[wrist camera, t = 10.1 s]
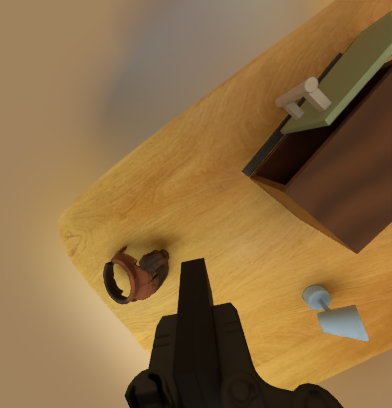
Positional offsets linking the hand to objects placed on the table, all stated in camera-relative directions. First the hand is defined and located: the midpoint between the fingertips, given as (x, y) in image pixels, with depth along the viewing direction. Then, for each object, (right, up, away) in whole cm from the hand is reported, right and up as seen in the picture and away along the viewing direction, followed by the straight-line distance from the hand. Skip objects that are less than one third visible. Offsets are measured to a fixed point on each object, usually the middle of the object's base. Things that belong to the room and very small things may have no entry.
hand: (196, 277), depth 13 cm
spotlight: (+24, -13, +25) cm, 37 cm away
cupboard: (+19, +14, +18) cm, 30 cm away
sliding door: (+16, +23, +14) cm, 31 cm away
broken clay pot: (-9, -5, +22) cm, 25 cm away
